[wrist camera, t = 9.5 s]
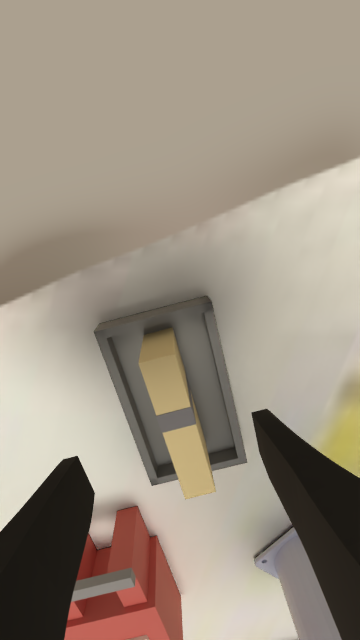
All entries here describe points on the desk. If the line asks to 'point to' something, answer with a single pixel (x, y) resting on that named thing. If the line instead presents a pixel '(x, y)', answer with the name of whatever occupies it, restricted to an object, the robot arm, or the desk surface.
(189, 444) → the wooden blocks
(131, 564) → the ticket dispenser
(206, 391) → the ticket tray
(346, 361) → the desk surface
